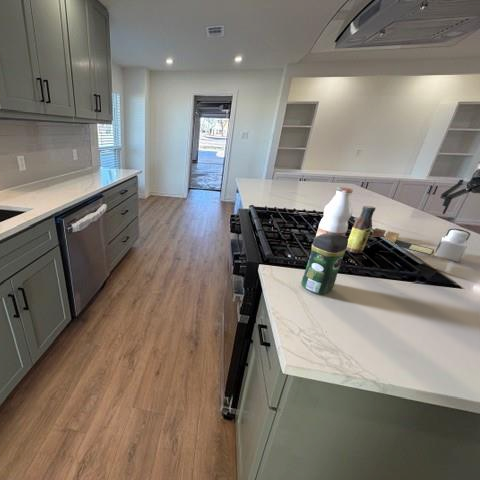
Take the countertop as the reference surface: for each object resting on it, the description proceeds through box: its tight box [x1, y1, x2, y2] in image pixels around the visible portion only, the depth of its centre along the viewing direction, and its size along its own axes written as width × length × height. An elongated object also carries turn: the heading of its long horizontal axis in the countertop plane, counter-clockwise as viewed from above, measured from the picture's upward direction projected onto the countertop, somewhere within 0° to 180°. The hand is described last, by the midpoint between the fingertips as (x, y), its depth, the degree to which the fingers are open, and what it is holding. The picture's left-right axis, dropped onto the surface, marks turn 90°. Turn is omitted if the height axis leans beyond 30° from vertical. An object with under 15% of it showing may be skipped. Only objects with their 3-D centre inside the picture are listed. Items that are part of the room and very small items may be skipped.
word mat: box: [367, 235, 434, 256], centre depth 118 cm, size 22×10×1 cm, turn 39°
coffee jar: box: [300, 232, 348, 295], centre depth 79 cm, size 10×8×19 cm
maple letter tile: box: [384, 230, 400, 243], centre depth 120 cm, size 4×4×4 cm
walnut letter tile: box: [370, 227, 387, 239], centre depth 123 cm, size 4×4×4 cm
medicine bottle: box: [434, 228, 471, 263], centre depth 105 cm, size 7×7×12 cm
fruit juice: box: [315, 186, 354, 237], centre depth 99 cm, size 9×9×28 cm
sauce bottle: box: [346, 205, 376, 254], centre depth 106 cm, size 7×6×20 cm
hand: (467, 216), depth 107 cm, fingers open, 13 cm apart
